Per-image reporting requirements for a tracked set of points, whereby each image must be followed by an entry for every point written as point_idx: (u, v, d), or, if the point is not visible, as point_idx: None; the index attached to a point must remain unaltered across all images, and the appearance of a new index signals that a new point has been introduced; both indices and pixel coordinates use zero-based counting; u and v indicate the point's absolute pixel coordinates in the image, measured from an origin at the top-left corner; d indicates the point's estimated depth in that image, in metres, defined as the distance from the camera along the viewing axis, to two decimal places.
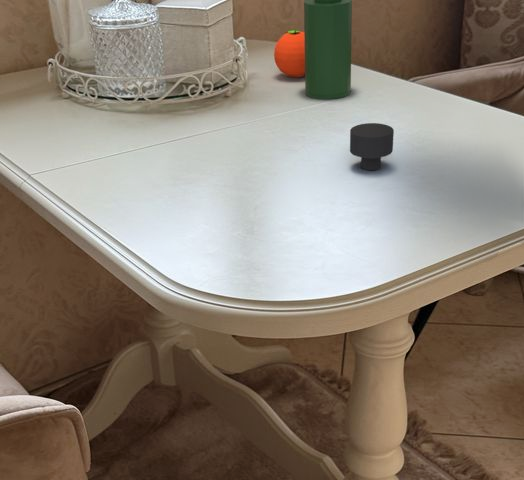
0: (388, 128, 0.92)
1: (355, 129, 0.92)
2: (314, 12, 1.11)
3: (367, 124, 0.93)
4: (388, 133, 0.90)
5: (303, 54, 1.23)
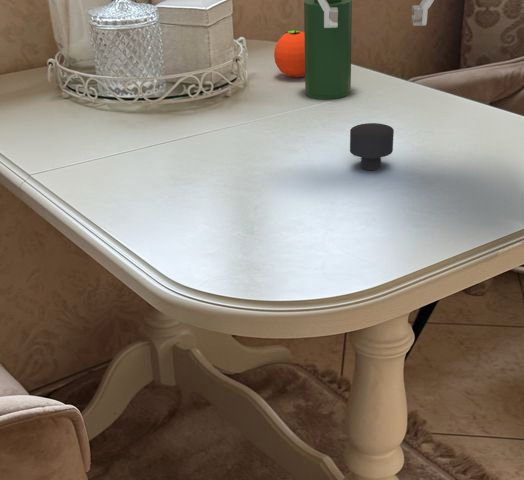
0: (388, 128, 0.92)
1: (355, 129, 0.92)
2: (314, 12, 1.11)
3: (367, 124, 0.93)
4: (388, 133, 0.90)
5: (303, 54, 1.23)
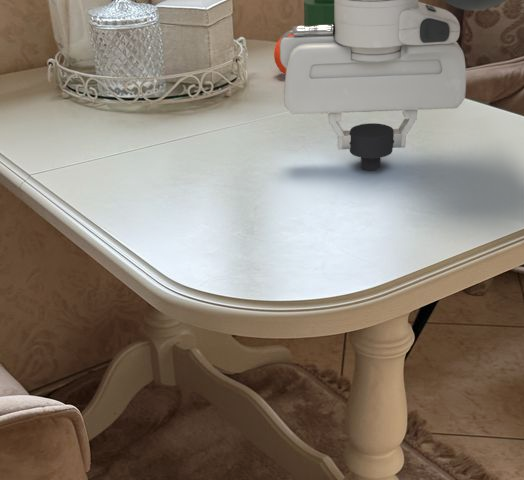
0: (388, 128, 0.92)
1: (355, 129, 0.92)
2: (314, 12, 1.11)
3: (367, 124, 0.93)
4: (388, 133, 0.90)
5: None
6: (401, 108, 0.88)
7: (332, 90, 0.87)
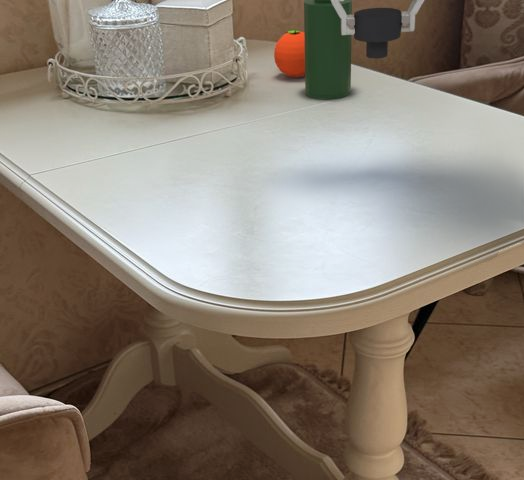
0: (395, 10, 0.84)
1: (359, 12, 0.85)
2: (314, 12, 1.11)
3: (372, 8, 0.86)
4: (395, 14, 0.83)
5: (303, 54, 1.23)
6: None
7: None
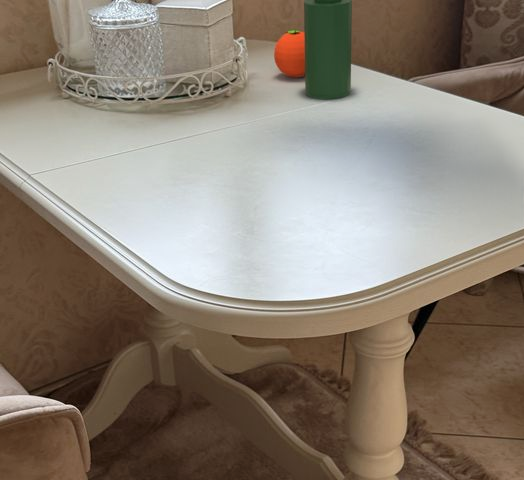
0: None
1: None
2: (314, 12, 1.11)
3: None
4: None
5: (303, 54, 1.23)
6: None
7: None
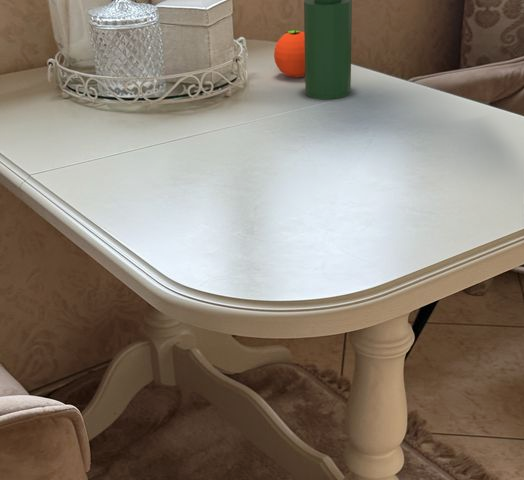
0: None
1: None
2: (314, 12, 1.11)
3: None
4: None
5: (303, 54, 1.23)
6: None
7: None
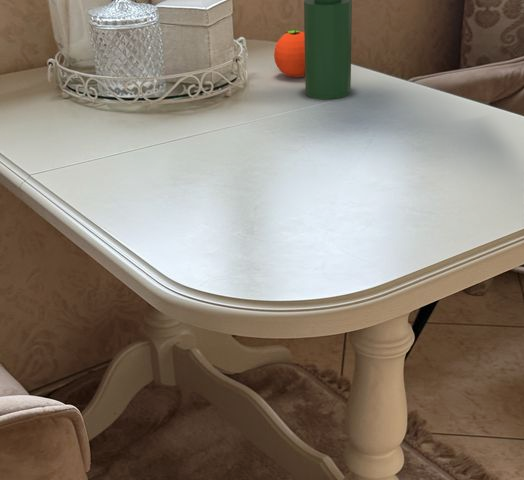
0: None
1: None
2: (314, 12, 1.11)
3: None
4: None
5: (303, 54, 1.23)
6: None
7: None
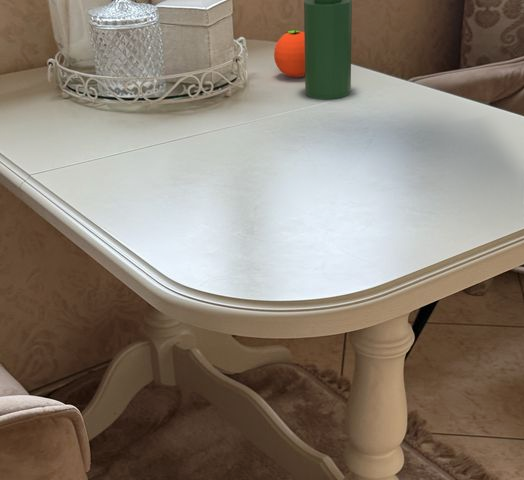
0: None
1: None
2: (314, 12, 1.11)
3: None
4: None
5: (303, 54, 1.23)
6: None
7: None
